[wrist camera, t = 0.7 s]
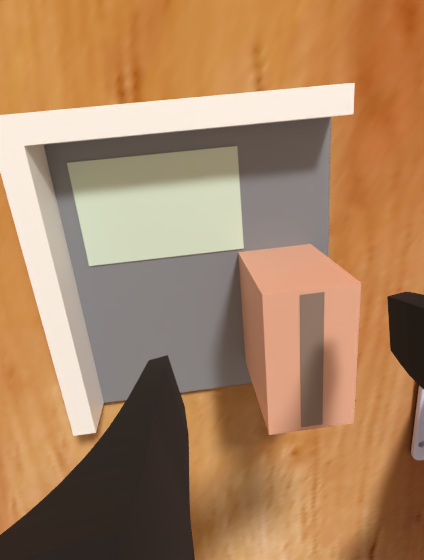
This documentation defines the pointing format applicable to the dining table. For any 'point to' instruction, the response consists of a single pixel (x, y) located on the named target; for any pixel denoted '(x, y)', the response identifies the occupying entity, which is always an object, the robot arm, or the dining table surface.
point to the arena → (161, 227)
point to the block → (300, 336)
